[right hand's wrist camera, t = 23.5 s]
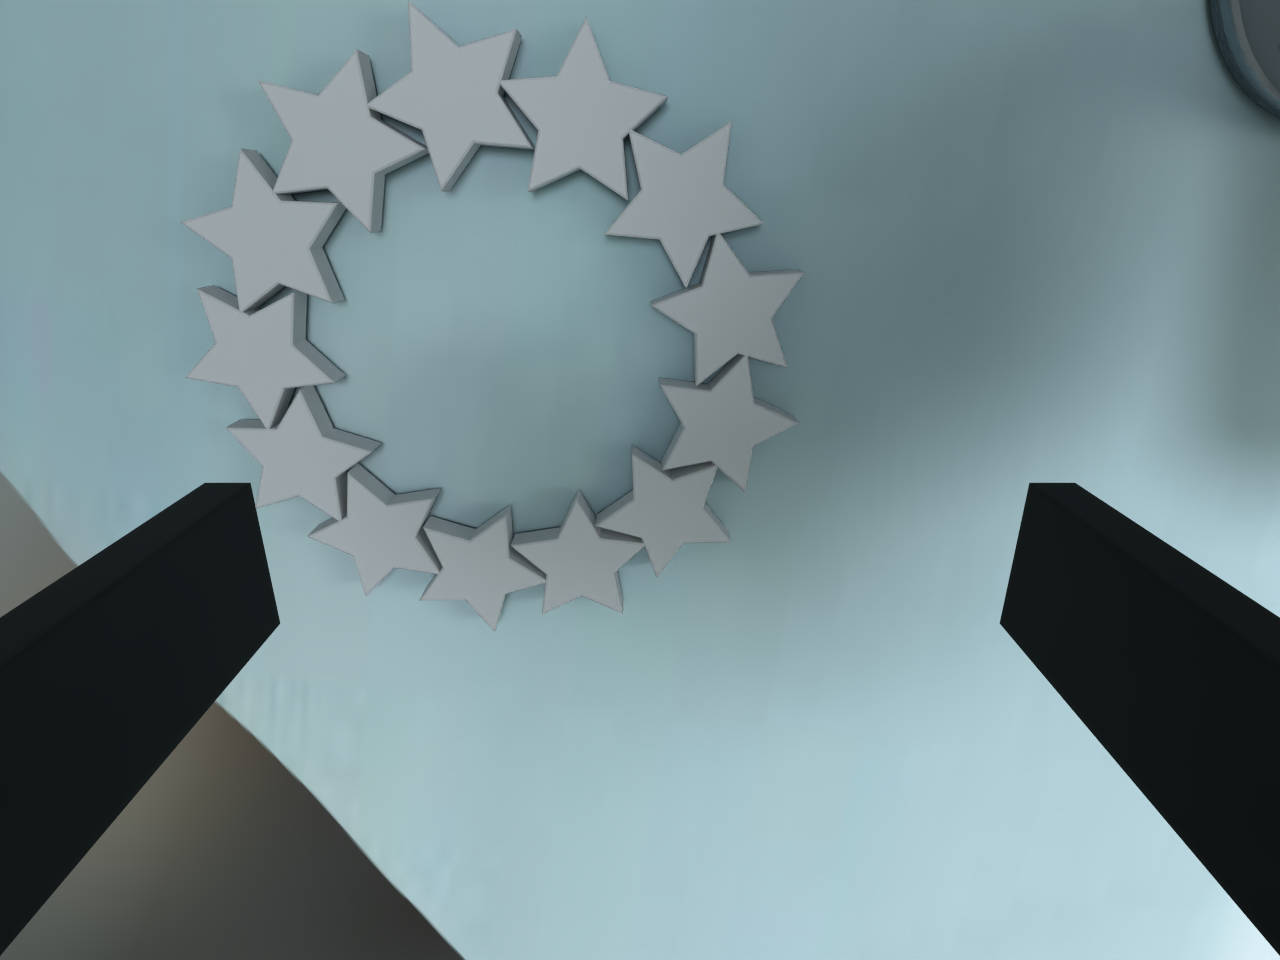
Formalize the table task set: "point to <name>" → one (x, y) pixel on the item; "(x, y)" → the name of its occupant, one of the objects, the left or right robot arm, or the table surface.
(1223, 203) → the table surface
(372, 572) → the decorative wreath
